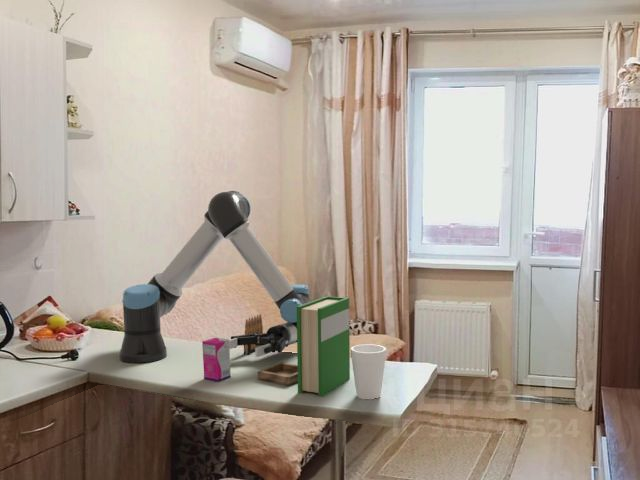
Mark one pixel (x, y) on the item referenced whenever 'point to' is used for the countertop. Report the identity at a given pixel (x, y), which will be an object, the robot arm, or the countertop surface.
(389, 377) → the countertop surface
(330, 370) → the hardback book
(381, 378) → the foam cup
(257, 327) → the ammunition clip
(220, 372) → the supplement box
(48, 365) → the countertop surface
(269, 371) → the shallow wooden tray
